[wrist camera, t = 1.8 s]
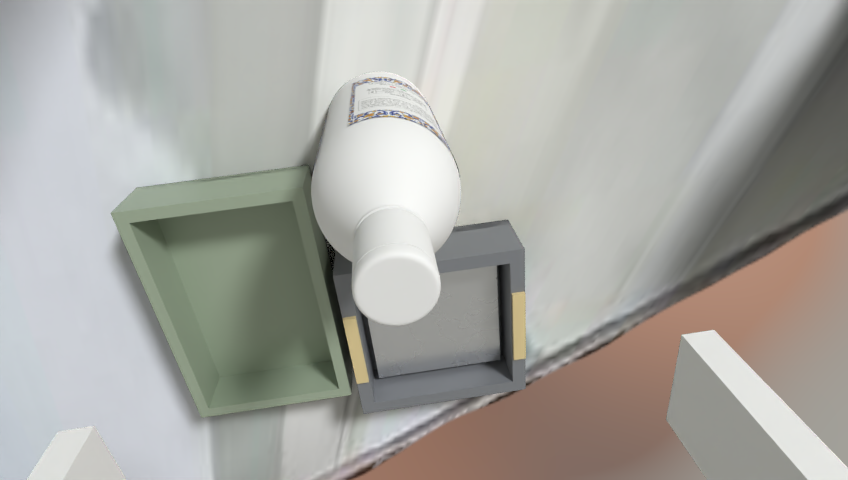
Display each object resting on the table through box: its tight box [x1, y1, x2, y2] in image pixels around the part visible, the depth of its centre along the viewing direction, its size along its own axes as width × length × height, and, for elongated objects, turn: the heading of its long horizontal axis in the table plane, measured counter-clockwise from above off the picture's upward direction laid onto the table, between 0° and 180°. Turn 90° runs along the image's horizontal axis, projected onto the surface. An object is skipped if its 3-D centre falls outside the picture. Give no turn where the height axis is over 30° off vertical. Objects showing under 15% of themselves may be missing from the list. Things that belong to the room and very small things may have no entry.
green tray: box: [111, 165, 352, 418], centre depth 37 cm, size 12×18×4 cm, turn 7°
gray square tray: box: [333, 220, 526, 414], centre depth 39 cm, size 13×13×5 cm
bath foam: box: [311, 71, 461, 326], centre depth 25 cm, size 7×7×20 cm
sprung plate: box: [368, 265, 500, 378], centre depth 39 cm, size 10×10×1 cm
